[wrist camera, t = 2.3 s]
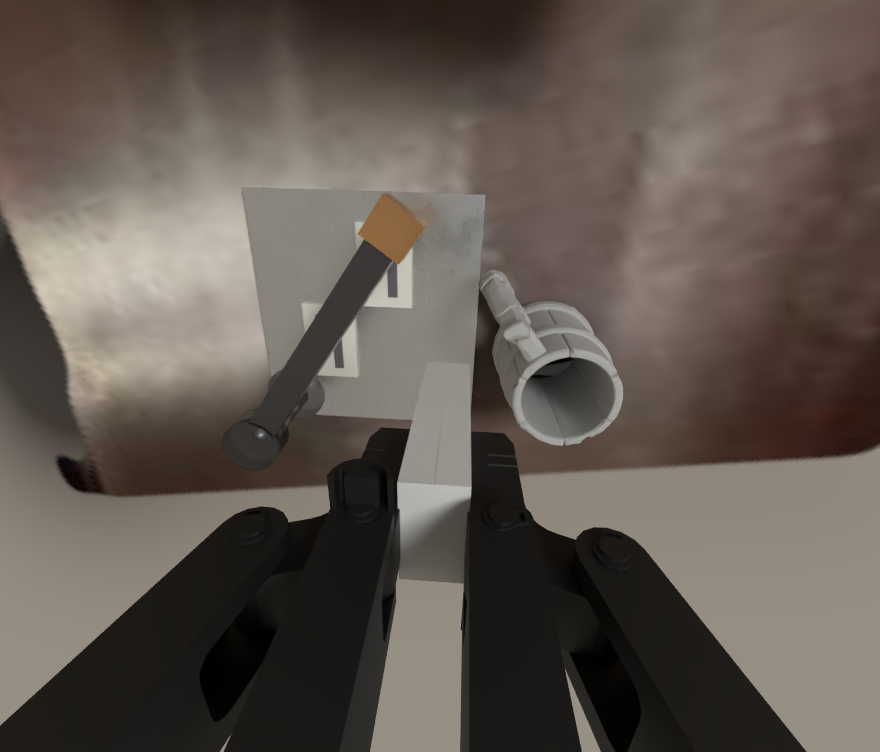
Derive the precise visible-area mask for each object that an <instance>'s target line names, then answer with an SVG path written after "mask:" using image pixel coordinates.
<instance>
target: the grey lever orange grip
mask: <svg viewBox="0 0 880 752" xmlns="http://www.w3.org/2000/svg"><path fill="white" fill-rule="evenodd" d="M427 225H428V223H426V222H425V221H424V220H423V219H421V218H420V217H419V216H418V215H416V214H415V213H414V212H413V211H411V210H410V209H409V208H408V207H406V206H405V205H404V204H402V203H401V202H400V201H399V200H397V199H396V198H395V197H394V196H392V195H391V194H382V195H381V197H380V198H379V200H378V201H377V203H376V205H375V206H374V208H373V209H372V211H371V213H370V214H369V216H368V218H367V219H366V221H365V222H364V224H363V226H362V227H361V229H360V231H359V232H358V235H359V236H361V237H362V238H363V239H364V240H363V242H362V244H361V245H360V247H359V248H358V250H357V252H356V253H355V255H354V256H353V258H352V259H351V261H350V263H349V264H348V266H347V267H346V269H345V271H344V272H343V274H342V275H341V277H340V279H339V280H338V282H337V283H336V285H335V287H334V288H333V290H332V291H331V293H330V295H329V296H328V298H327V299H326V301H325V302H324V304H323V306H322V307H321V309H320V310H319V312H318V314H317V315H316V317H315V318H314V320H313V322H312V323H311V325H310V326H309V328H308V330H307V331H306V333H305V334H304V336H303V338H302V339H301V341H300V342H299V344H298V346H297V347H296V349H295V350H294V352H293V353H292V355H291V357H290V358H289V360H288V361H287V363H286V365H285V366H284V368H283V369H282V371H281V373H280V374H279V376H278V377H277V379H276V381H275V382H274V384H273V385H272V387H271V389H270V390H269V392H268V393H267V395H266V397H265V398H264V400H263V401H262V403H261V404H260V406H259V408H258V409H254V410H250V411H248V412H247V413H245V414H244V415H243V416H242V417H241V418H240V419H239V420H238V421H237V422H236V423H235V424H234V425H233V426H232V427H231V428H230V429H229V430H228V431H227V432H226V433H225V434H224V437H223V441H222V443H223V449H224V451H225V453H226V455H227V456H228V458H229V459H230V460H231V461H232V462H234V463H235V464H236V465H238V466H240V467H242V468H245V469H248V470H262V469H265V468H267V467H268V466H270V465H271V464H272V462H273V461H274V460H275V458H276V457H277V456H278V454H279V453H280V452H281V450H282V449H283V447H284V446H285V445H286V443H287V441H288V437H289V433H288V429H287V426H286V424H285V422H286V420H287V419H288V417H289V416H290V414H291V413H292V411H293V410H294V408H295V407H296V406H297V404H298V403H299V401H300V400H301V398H302V397H303V395H304V394H305V392H306V391H307V389H308V388H309V386H310V385H311V383H312V382H313V380H314V379H315V377H316V376H317V374H318V373H319V371H320V370H321V368H322V367H323V366H324V364H325V363H326V361H327V360H328V358H329V357H330V355H331V354H332V352H333V351H334V349H335V348H336V346H337V345H338V343H339V342H340V340H341V339H342V337H343V336H344V334H345V333H346V331H347V330H348V328H349V327H350V326H351V324H352V323H353V321H354V320H355V318H356V317H357V315H358V314H359V312H360V311H361V309H362V308H363V306H364V305H365V303H366V302H367V300H368V299H369V297H370V296H371V294H372V293H373V291H374V290H375V288H376V287H377V286H378V284H379V283H380V281H381V280H382V278H383V277H384V275H385V274H386V272H387V271H388V269H389V268H390V266H391V265H392V263H393V262H395V263H397V264H398V265H399V264H400V263H401V262H402V261H403V260H404V258H405V257H406V256H407V254H408V253H409V251H410V250H411V248H412V247H413V245H414V244H415V242H416V241H417V239H418V238H419V237H420V235H421V234H422V232H423V231H424V229H425V228H426V226H427Z"/></svg>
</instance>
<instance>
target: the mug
mask: <svg viewBox="0 0 880 752" xmlns="http://www.w3.org/2000/svg"><path fill="white" fill-rule="evenodd" d="M480 282H481V283H480V290H481V292H482V294H483V295H484V297H485V298H486V300H487V302H488V306H489V307H490V309H491V311H492V313H493V316H494V318H495V319H496V321H497V322H498V323H499V324H500V328H499V330H498V332H497V334H496V337H495V340H494V345H493V349H492V355H493V358H494V363H495V367H496V369H497V372H498V374H499V376H500V383H501V385H502V389H503V392H504V395H505V398H506V400H507V402H508V404H509V405H510V407H511V408H512V409H513V413H514V415H515V418H516V420H517V422H518V423H519V424H520V426H521V428H523V429H524V430H525V431H526V432H528V433H529V434H531V435H532V436H534V437H535V438H536V439H538V440H540V441H542V442H545V443H548V444H552V445H557V446H563V444H564V445H570V444H578V443H580V442H581V441H582V440H583V439H585V438H586V437H593V436H595V435H596V434H598V433H601V432H602V431H604V430H605V429H606V427H608V426H609V425H610V424H611V421H614V419H615V418H616V416H617V415H618V413H619V410H620V408H621V404H622V400H623V386H622V382H621V380H620V378H619V376H618V374H617V373H616V372H617V370H616V369H615V367H614V366H613V363H612V359H611V356H610V354H609V352H608V350H607V349H606V347H605V346H604V345H603V344H602V342H601V341H600V340H599V339H598V338H597V337H596V336H594V333H593V330H592V328H591V326H590V324H589V323H588V321H587V320H586V319H585V318H584V316H583V315H582V314H580V313H579V312H578V311H577V310H576V309H575V308H574V307H572V306H568V305H566V304H563V303H559V302H553V301H542V302H541V301H538V302H532V303H529V304H526V305H524V306H521V305H520V303H519V302H518V300H517V299H516V297H515V295H514V294H515V292H514V290H513V288H512V286H511V285H510V283H509V282H508V280H507V278H506V276H505V275H504V274H503V273H502V272H500V271H496V270H491V271H489V272H488V273H486V274H485V275H484V276H483V277H482V278H481V280H480ZM569 356H570V357H572V361H568V362H563V363H558V364H553V365H549V366H544V365H546V364H548V363H550V362H552V361H554V360H558V359H562V358H567V357H569ZM542 366H544V367H542ZM531 375H547V376H549V377H541V378H531V377H530V376H531Z"/></svg>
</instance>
